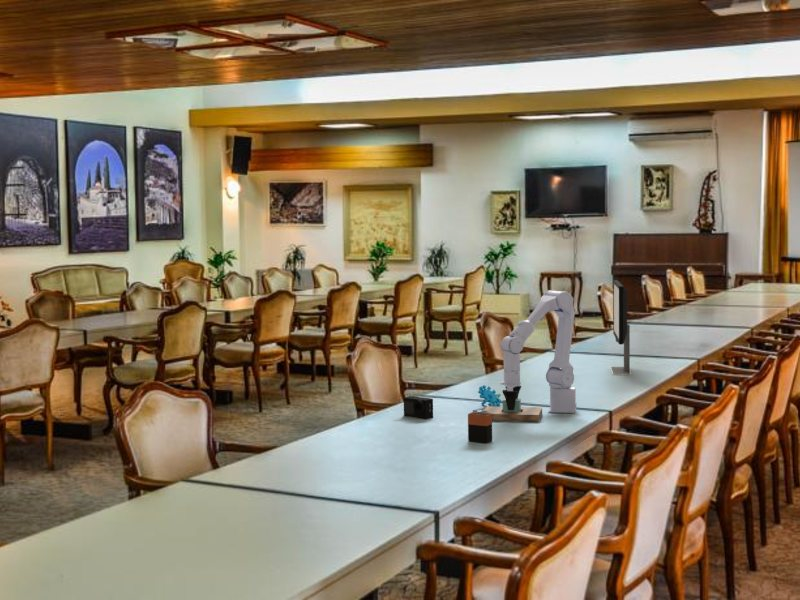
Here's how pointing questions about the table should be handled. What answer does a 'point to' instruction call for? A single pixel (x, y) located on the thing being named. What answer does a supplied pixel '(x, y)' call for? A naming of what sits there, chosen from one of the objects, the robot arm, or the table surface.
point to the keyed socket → (515, 414)
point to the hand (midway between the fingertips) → (512, 408)
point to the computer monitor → (621, 326)
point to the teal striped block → (517, 406)
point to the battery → (480, 426)
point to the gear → (489, 396)
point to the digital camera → (418, 407)
